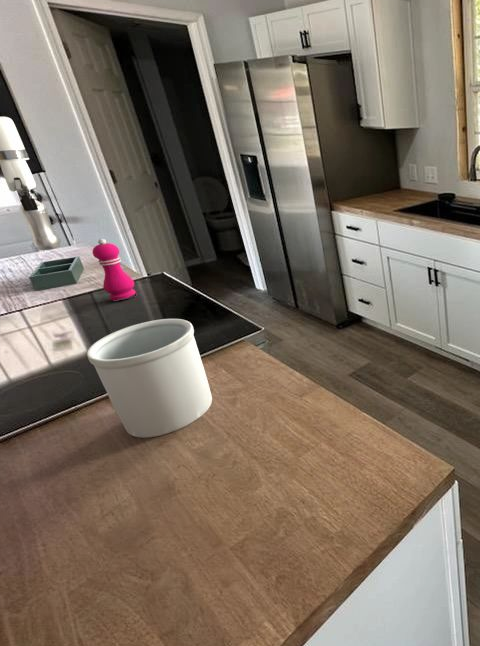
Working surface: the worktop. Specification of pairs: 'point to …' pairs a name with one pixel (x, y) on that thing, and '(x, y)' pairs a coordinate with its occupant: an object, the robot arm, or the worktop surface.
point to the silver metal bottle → (40, 227)
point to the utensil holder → (153, 376)
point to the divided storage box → (57, 273)
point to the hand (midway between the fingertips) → (34, 208)
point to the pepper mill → (113, 271)
